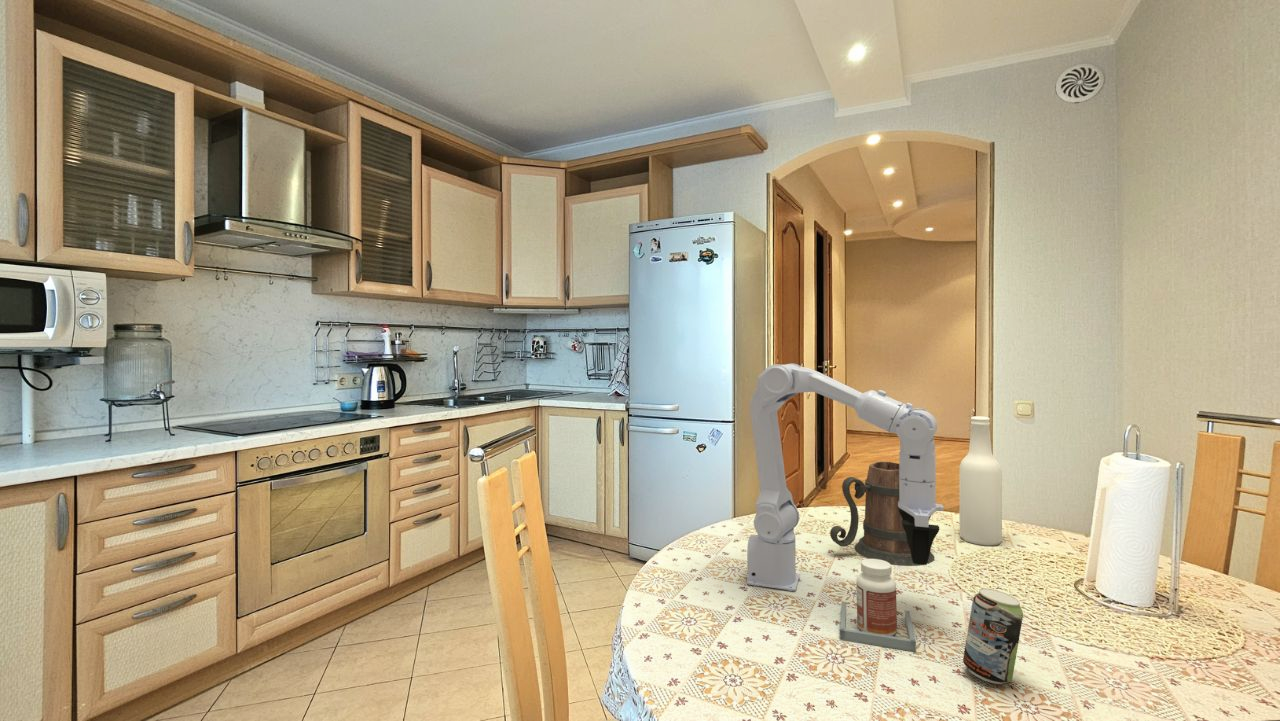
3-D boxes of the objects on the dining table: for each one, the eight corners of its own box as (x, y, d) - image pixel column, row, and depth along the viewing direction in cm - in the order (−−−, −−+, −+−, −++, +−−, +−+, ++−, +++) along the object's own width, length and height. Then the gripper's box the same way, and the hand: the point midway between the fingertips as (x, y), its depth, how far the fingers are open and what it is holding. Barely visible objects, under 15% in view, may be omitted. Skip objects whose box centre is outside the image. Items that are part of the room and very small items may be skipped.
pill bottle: (904, 631, 92) (904, 564, 92) (883, 642, 89) (882, 573, 88) (870, 616, 97) (870, 553, 97) (849, 627, 94) (848, 561, 94)
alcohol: (1010, 546, 131) (1010, 419, 130) (972, 546, 131) (972, 419, 130) (987, 534, 139) (987, 414, 139) (952, 534, 140) (951, 415, 139)
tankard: (904, 537, 138) (903, 457, 137) (952, 563, 121) (952, 471, 121) (815, 543, 134) (814, 461, 134) (852, 570, 118) (851, 476, 117)
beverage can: (953, 666, 82) (953, 585, 82) (1000, 663, 83) (1000, 582, 82) (983, 692, 76) (983, 604, 75) (1034, 688, 76) (1034, 602, 76)
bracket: (840, 639, 90) (840, 630, 90) (841, 609, 100) (841, 601, 100) (915, 651, 86) (915, 642, 86) (909, 619, 96) (909, 610, 96)
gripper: (949, 490, 89) (949, 574, 89) (937, 471, 103) (937, 544, 103) (901, 487, 92) (901, 568, 92) (895, 469, 105) (895, 540, 106)
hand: (917, 555), depth 98 cm, fingers open, 7 cm apart
